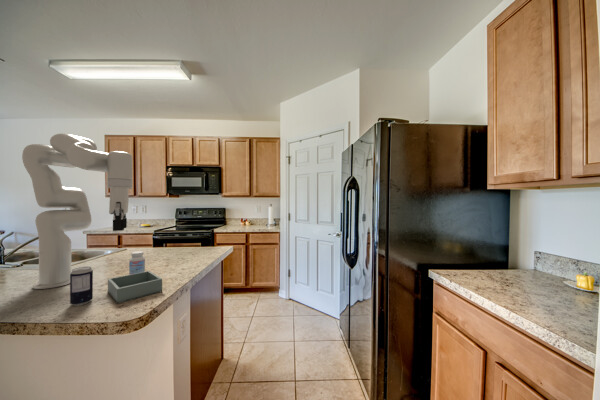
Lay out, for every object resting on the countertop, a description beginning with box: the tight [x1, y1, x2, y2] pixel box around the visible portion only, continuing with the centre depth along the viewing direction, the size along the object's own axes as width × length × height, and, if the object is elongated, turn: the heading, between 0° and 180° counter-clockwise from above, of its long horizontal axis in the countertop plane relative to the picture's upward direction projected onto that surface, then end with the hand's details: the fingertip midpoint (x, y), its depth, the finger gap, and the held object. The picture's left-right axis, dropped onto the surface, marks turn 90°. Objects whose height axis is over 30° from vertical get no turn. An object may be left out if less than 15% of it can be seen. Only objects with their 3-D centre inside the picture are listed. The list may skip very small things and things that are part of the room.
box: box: [107, 270, 163, 304], centre depth 90 cm, size 16×14×5 cm
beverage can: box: [69, 266, 94, 307], centre depth 80 cm, size 6×6×12 cm
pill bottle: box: [128, 250, 146, 275], centre depth 109 cm, size 6×6×11 cm
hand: (120, 229), depth 88 cm, fingers open, 9 cm apart
